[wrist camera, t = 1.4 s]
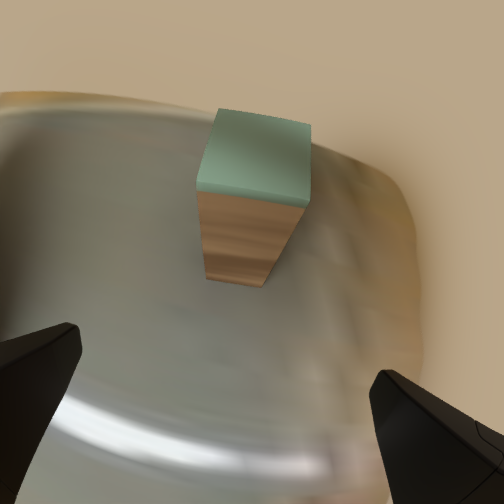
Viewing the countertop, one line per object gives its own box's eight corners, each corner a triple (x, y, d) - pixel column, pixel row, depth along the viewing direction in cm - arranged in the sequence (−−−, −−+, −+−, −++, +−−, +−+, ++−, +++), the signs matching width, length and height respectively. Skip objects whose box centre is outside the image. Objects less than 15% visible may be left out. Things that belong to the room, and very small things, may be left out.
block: (260, 287, 21) (310, 200, 10) (206, 279, 21) (195, 180, 10) (266, 238, 22) (311, 124, 11) (215, 229, 22) (218, 108, 11)
